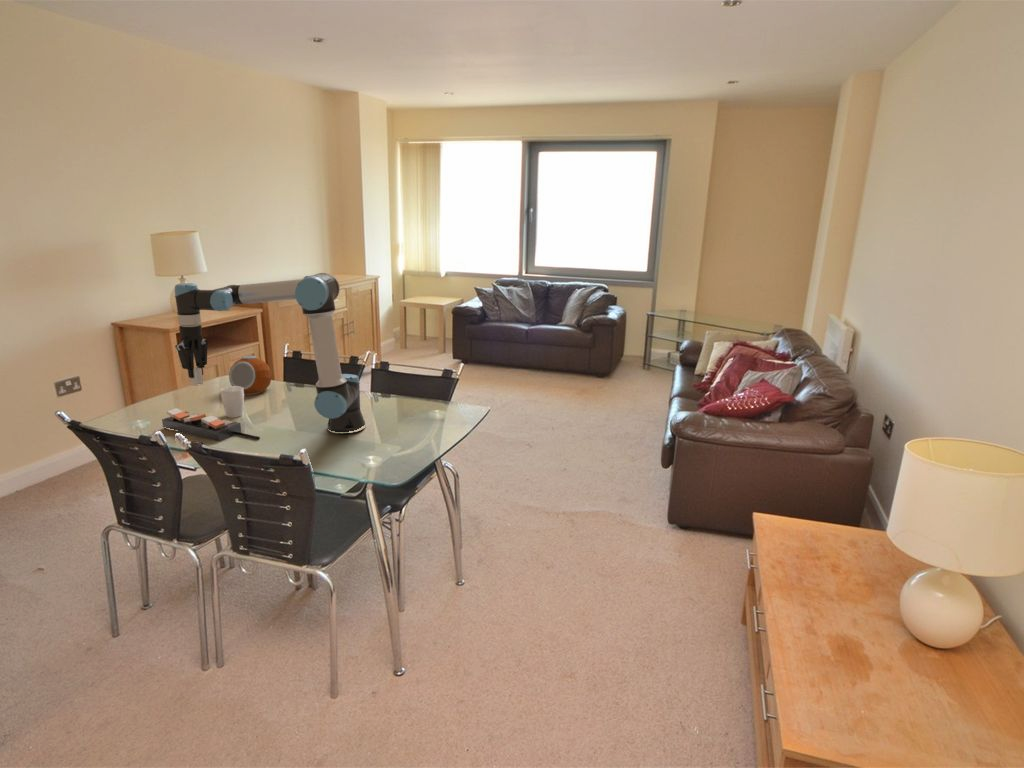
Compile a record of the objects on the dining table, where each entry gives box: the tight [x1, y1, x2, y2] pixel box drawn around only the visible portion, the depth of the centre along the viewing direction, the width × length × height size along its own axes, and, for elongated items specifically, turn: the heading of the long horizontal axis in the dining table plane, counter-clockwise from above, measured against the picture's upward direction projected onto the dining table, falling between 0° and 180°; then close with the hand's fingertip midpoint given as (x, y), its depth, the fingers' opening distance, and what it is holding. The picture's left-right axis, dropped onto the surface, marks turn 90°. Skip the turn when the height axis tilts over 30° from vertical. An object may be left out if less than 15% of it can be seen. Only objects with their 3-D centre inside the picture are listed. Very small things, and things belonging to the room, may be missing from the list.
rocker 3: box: [202, 415, 225, 429], centre depth 234 cm, size 7×4×1 cm, turn 68°
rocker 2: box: [184, 413, 207, 422], centre depth 237 cm, size 7×4×1 cm, turn 68°
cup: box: [220, 385, 245, 419], centre depth 258 cm, size 9×9×12 cm
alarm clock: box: [228, 355, 272, 395], centre depth 291 cm, size 19×18×17 cm
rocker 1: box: [166, 407, 189, 421], centre depth 241 cm, size 7×4×1 cm, turn 68°
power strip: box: [161, 411, 261, 442], centre depth 239 cm, size 42×11×5 cm, turn 68°
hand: (197, 384), depth 232 cm, fingers open, 2 cm apart
